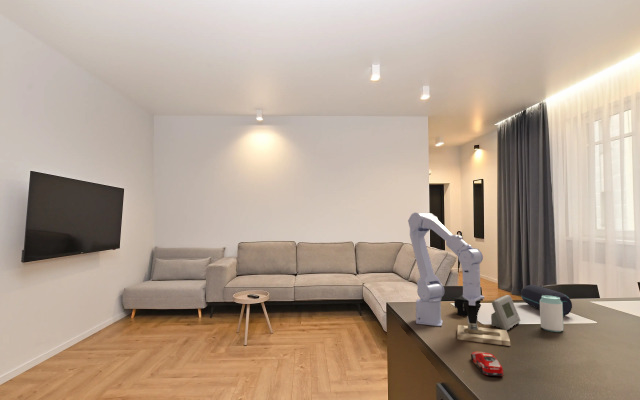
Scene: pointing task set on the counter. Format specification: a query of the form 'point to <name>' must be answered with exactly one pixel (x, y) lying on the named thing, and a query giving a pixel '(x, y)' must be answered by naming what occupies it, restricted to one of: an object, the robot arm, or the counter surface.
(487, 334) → the keyhole board
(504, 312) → the digital clock
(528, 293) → the portable speaker
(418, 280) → the robot arm
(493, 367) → the race car
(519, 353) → the counter surface
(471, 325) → the peg
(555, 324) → the can
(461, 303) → the digital camera
